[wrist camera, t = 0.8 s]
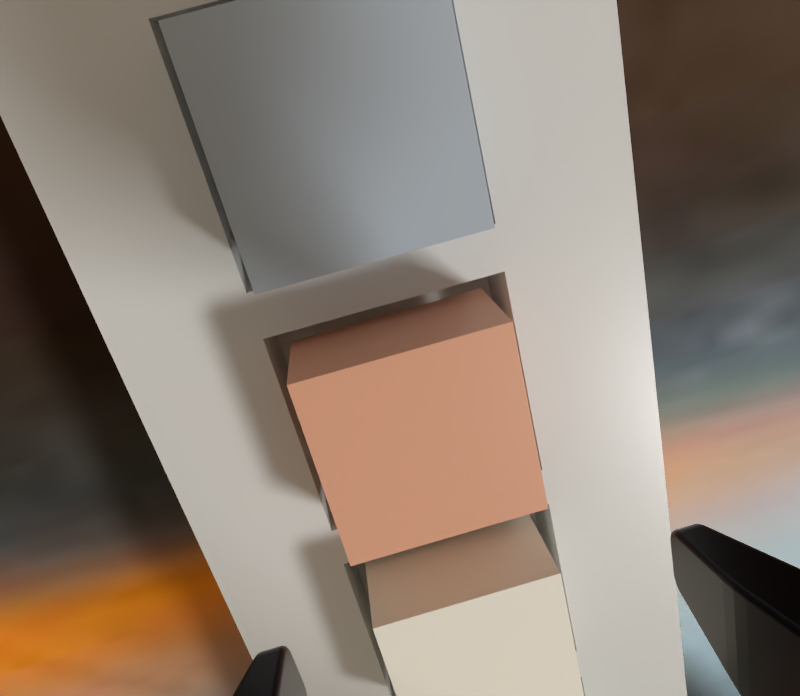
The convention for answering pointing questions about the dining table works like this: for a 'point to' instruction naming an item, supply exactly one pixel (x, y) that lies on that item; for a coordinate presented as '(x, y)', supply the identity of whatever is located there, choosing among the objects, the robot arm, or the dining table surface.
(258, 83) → the key slate
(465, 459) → the key terracotta
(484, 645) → the key cream
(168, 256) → the keypad
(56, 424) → the dining table surface
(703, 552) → the robot arm
